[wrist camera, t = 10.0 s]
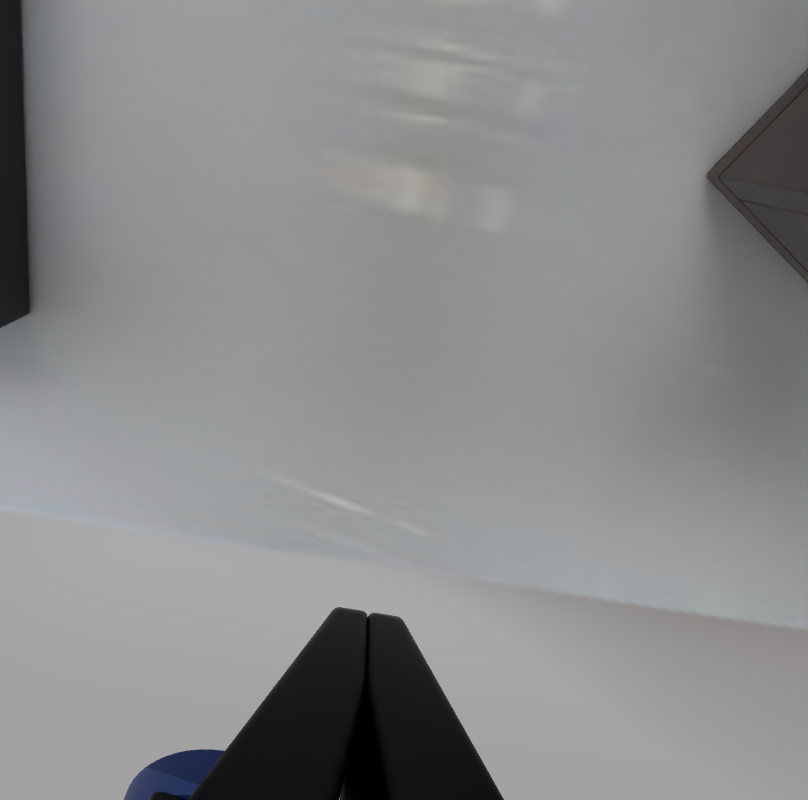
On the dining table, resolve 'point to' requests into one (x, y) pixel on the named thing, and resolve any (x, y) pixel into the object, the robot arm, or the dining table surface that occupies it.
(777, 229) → the wooden box
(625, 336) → the dining table surface
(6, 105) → the switch block
